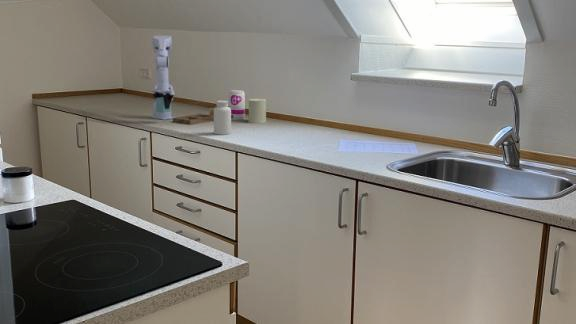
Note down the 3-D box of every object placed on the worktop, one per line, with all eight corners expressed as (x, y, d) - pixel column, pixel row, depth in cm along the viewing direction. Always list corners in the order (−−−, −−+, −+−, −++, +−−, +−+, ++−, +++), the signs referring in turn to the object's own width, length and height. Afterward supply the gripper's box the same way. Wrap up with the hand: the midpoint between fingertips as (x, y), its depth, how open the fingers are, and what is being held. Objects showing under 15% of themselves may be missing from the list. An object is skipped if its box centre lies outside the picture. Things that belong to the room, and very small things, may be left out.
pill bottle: (217, 135, 277) (217, 102, 273) (211, 132, 284) (210, 100, 280) (233, 134, 280) (233, 101, 277) (227, 131, 287) (226, 99, 284)
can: (257, 123, 310) (257, 100, 307) (244, 121, 316) (244, 98, 313) (269, 121, 316) (270, 98, 314) (257, 119, 322) (257, 97, 320)
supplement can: (242, 120, 320) (242, 91, 316) (227, 119, 321) (227, 91, 318) (246, 118, 327) (246, 90, 324) (231, 117, 329) (231, 89, 326)
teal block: (156, 111, 307) (155, 97, 306) (164, 110, 311) (163, 96, 310) (163, 112, 304) (162, 98, 303) (170, 111, 308) (170, 97, 307)
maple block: (209, 108, 326) (218, 107, 332) (209, 118, 327) (218, 116, 333) (215, 109, 323) (225, 108, 329) (216, 119, 324) (225, 117, 330)
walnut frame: (172, 121, 312) (172, 118, 312) (200, 117, 328) (200, 113, 327) (190, 124, 305) (190, 120, 304) (218, 120, 320) (218, 116, 320)
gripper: (146, 80, 305) (147, 107, 309) (166, 82, 297) (167, 110, 300) (157, 79, 311) (158, 106, 314) (177, 81, 302) (178, 108, 305)
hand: (163, 108), depth 307 cm, fingers closed on teal block, 5 cm apart
